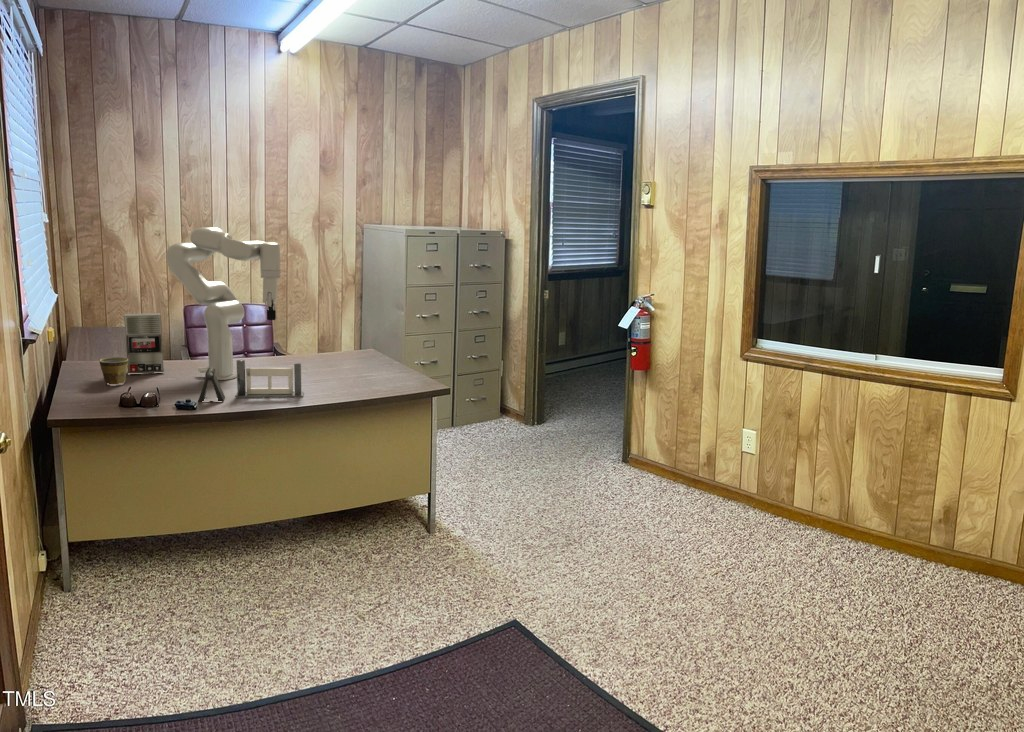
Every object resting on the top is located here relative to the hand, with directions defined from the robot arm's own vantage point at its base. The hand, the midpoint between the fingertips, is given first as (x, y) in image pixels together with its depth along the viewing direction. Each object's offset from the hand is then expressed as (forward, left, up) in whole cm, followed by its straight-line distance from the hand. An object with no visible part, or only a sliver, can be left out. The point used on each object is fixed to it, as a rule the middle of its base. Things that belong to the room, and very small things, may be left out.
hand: (271, 319), depth 308 cm
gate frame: (+1, -17, -27) cm, 32 cm away
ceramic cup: (-61, +3, -27) cm, 67 cm away
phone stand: (-20, -23, -27) cm, 41 cm away
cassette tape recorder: (-53, +21, -27) cm, 63 cm away
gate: (+1, -17, -26) cm, 31 cm away
